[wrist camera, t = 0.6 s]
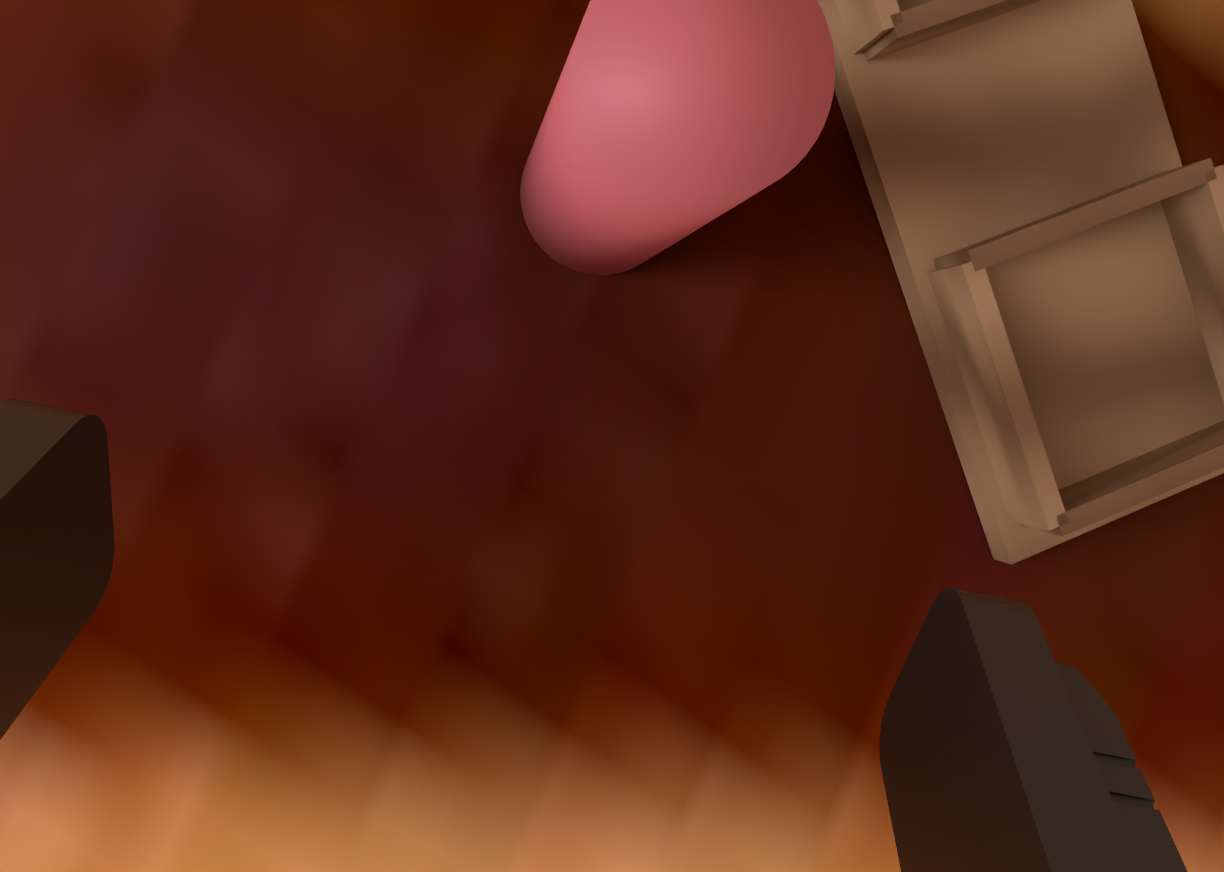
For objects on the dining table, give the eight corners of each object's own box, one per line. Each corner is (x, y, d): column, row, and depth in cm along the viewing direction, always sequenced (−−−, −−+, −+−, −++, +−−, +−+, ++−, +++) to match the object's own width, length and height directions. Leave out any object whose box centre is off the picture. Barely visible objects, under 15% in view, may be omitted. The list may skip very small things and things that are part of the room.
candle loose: (496, 145, 29) (538, -24, 17) (645, 94, 29) (784, -104, 18) (553, 297, 29) (632, 236, 17) (698, 244, 30) (870, 150, 18)
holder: (723, -237, 29) (755, -307, 26) (1006, -322, 31) (1067, -398, 28) (993, 558, 32) (1050, 576, 29) (1245, 451, 33) (1325, 456, 30)
